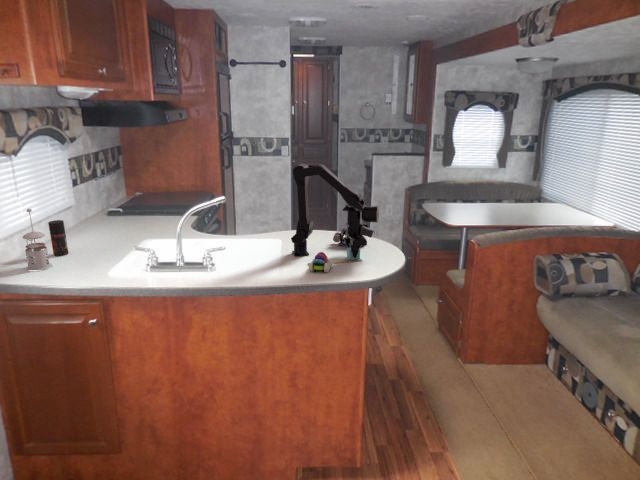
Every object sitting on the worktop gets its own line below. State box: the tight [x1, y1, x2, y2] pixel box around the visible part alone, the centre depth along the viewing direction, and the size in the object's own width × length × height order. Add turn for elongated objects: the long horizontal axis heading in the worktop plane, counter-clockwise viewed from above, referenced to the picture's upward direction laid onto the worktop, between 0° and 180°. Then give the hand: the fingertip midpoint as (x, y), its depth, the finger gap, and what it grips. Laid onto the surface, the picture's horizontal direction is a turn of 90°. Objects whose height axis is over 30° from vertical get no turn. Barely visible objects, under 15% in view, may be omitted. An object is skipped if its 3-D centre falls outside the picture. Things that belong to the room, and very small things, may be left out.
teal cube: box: [346, 246, 361, 260], centre depth 215 cm, size 4×4×4 cm
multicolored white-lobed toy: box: [308, 251, 333, 274], centre depth 201 cm, size 8×10×7 cm
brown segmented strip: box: [307, 258, 363, 266], centre depth 211 cm, size 2×23×1 cm, turn 104°
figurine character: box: [332, 231, 367, 247], centre depth 233 cm, size 7×8×15 cm
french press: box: [21, 208, 53, 271], centre depth 204 cm, size 10×12×25 cm
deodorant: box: [48, 219, 69, 257], centre depth 221 cm, size 6×6×15 cm
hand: (353, 255), depth 216 cm, fingers closed on teal cube, 4 cm apart
